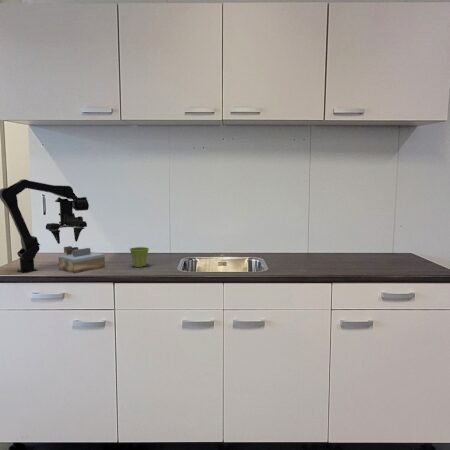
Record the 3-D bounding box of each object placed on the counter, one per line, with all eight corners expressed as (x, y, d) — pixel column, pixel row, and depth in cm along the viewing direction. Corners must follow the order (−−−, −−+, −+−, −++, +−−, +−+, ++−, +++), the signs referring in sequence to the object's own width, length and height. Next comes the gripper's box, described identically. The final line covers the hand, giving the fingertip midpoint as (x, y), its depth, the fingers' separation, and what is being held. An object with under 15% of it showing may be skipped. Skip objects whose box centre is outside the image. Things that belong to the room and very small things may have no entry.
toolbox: (56, 268, 175) (55, 249, 174) (86, 262, 188) (85, 245, 187) (74, 273, 166) (73, 253, 165) (105, 266, 179) (104, 248, 178)
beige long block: (64, 252, 182) (63, 247, 182) (69, 251, 184) (69, 246, 184) (76, 255, 175) (76, 249, 175) (82, 254, 178) (82, 248, 177)
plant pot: (150, 263, 186) (149, 246, 185) (148, 267, 177) (148, 250, 176) (131, 264, 185) (130, 247, 184) (128, 268, 175) (128, 250, 174)
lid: (59, 260, 173) (58, 250, 173) (89, 255, 186) (88, 245, 185) (74, 264, 165) (73, 253, 165) (104, 258, 178) (104, 248, 178)
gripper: (56, 213, 168) (58, 246, 170) (92, 210, 183) (93, 241, 185) (44, 212, 175) (45, 244, 176) (80, 210, 190) (81, 239, 191)
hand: (67, 242), depth 182 cm, fingers open, 9 cm apart
